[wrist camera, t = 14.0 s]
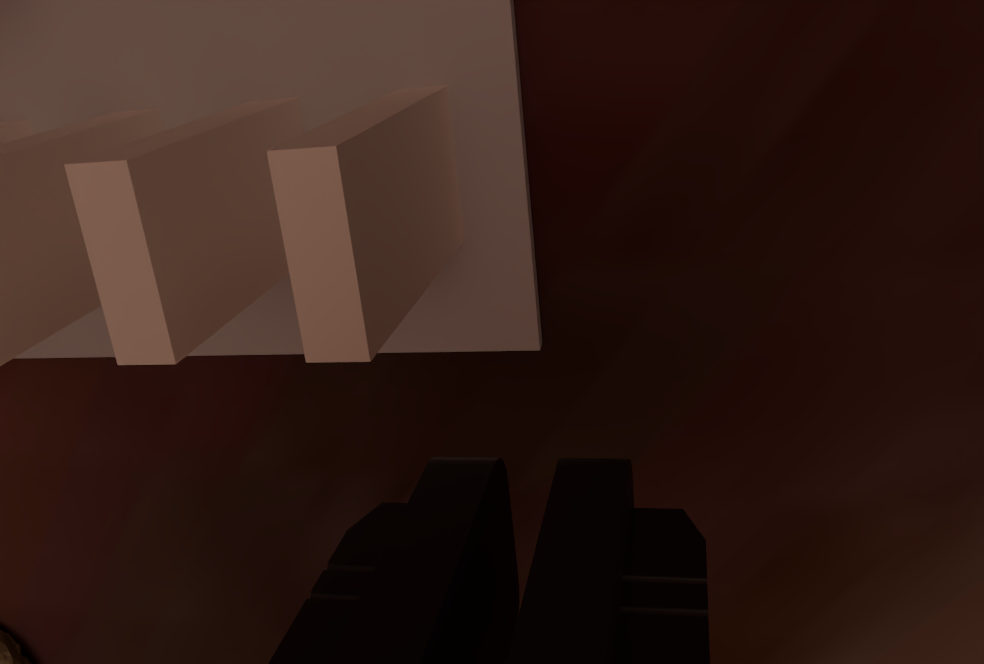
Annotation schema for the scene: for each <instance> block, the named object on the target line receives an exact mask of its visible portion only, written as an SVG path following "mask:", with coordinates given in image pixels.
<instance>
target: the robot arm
mask: <svg viewBox="0 0 984 664" xmlns="http://www.w3.org/2000/svg"><path fill="white" fill-rule="evenodd" d="M269 664H710V655H709V625H708V595H707V565H706V540H705V539H704V537H703V536H702V535H701V533H700V532H699V531H698V529H697V528H696V526H695V525H694V524H693V522H692V521H691V520H690V518H689V517H688V515H687V514H686V513H685V511H684V510H683V509H656V508H634V493H633V475H632V465H631V460H630V459H588V458H560V459H559V460H558V463H557V466H556V470H555V474H554V478H553V482H552V486H551V490H550V494H549V498H548V502H547V506H546V510H545V514H544V518H543V521H542V525H541V529H540V533H539V537H538V541H537V545H536V549H535V553H534V557H533V561H532V565H531V569H530V573H529V577H528V581H527V584H526V588H525V592H524V596H523V600H522V604H521V608H520V612H519V580H518V570H517V561H516V551H515V542H514V532H513V523H512V513H511V504H510V494H509V485H508V477H507V471H506V467H505V464H504V461H503V460H502V458H481V457H433V458H431V459H430V461H429V462H428V464H427V466H426V468H425V470H424V472H423V474H422V476H421V478H420V480H419V482H418V483H417V485H416V487H415V489H414V491H413V493H412V495H411V497H410V499H409V501H408V503H381V504H380V505H379V506H378V507H376V508H375V509H374V510H372V511H371V512H370V513H369V514H367V515H366V516H365V517H363V518H362V519H361V520H360V521H358V522H357V523H356V524H355V525H353V526H352V527H351V528H349V529H348V530H347V531H346V533H345V535H344V536H343V538H342V540H341V542H340V543H339V545H338V547H337V548H336V550H335V552H334V553H333V555H332V557H331V559H330V560H329V562H328V568H327V570H323V572H322V574H321V575H320V577H319V579H318V581H317V582H316V584H315V586H314V587H313V589H312V591H311V598H310V599H306V601H305V603H304V604H303V606H302V608H301V609H300V611H299V613H298V614H297V616H296V618H295V620H294V621H293V623H292V625H291V626H290V628H289V630H288V631H287V633H286V635H285V636H284V638H283V640H282V642H281V643H280V645H279V647H278V648H277V650H276V652H275V653H274V655H273V657H272V658H271V660H270V662H269Z"/></svg>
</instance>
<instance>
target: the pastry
mask: <svg viewBox="0 0 984 664" xmlns="http://www.w3.org/2000/svg"><path fill="white" fill-rule="evenodd" d="M0 664H33V663H32V662H31V661H29V660H28V659H27V658H26V657H24V656H22V655H21V650H20V645H19V644H17V643H16V642H15V641H14V640H13V638H12V637H11V636H10V634H9V633H4V632H3V631H2V630H1V629H0Z"/></svg>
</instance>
